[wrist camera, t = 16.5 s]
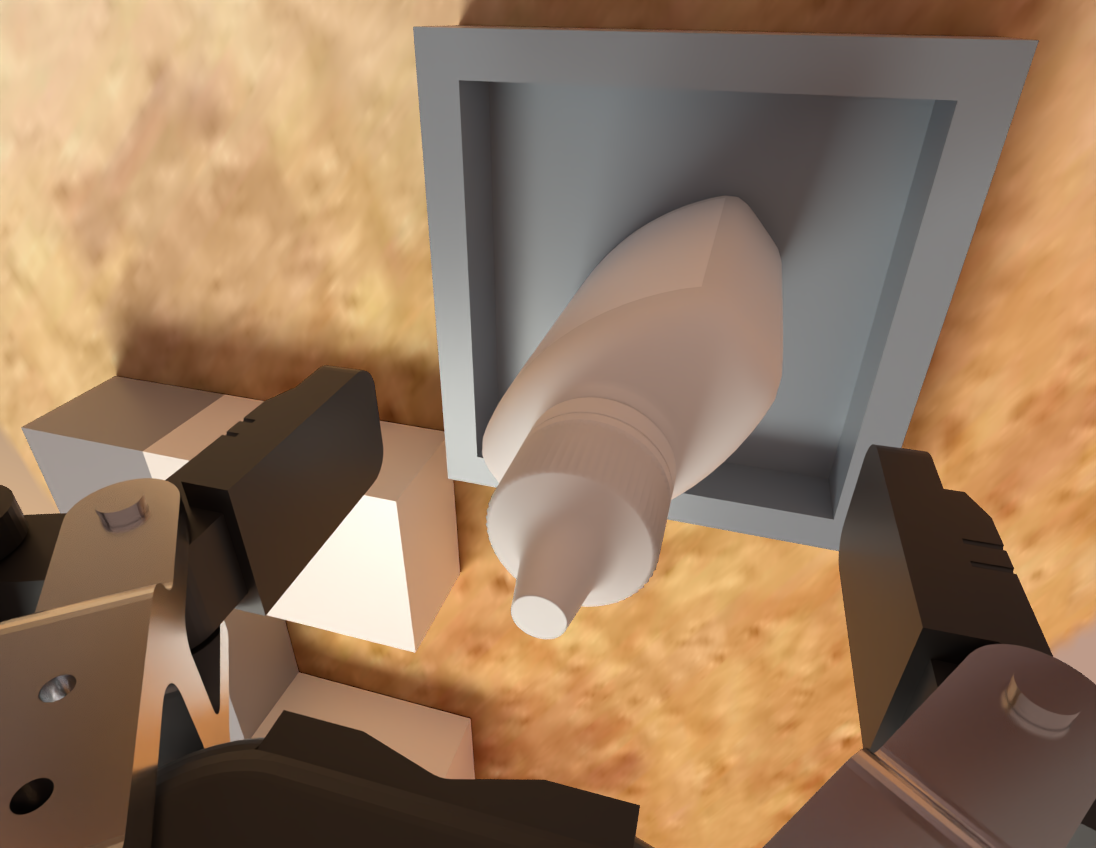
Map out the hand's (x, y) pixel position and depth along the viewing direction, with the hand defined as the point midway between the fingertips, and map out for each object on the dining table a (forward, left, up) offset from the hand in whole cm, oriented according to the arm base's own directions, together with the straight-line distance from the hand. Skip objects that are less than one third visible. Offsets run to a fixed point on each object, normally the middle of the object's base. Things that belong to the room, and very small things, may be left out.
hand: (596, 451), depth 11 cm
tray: (0, 0, -9) cm, 9 cm away
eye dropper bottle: (0, 0, -9) cm, 9 cm away
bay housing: (+17, -14, -9) cm, 24 cm away
